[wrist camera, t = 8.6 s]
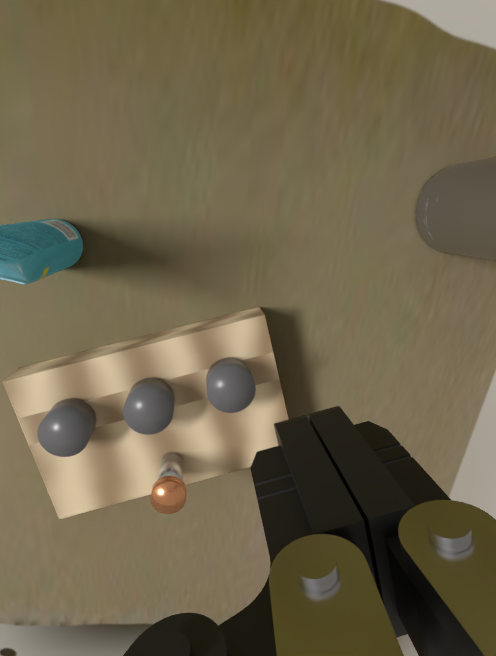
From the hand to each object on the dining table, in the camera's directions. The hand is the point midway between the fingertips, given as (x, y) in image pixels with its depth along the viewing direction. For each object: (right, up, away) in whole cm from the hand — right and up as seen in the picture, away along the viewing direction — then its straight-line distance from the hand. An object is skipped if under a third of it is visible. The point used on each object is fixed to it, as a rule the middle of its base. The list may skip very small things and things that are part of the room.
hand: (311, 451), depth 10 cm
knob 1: (-19, -5, +37) cm, 42 cm away
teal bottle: (-20, +11, +34) cm, 41 cm away
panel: (-11, -6, +39) cm, 40 cm away
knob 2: (-4, -2, +38) cm, 38 cm away
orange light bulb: (-9, -11, +36) cm, 39 cm away
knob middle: (-11, -3, +37) cm, 39 cm away
